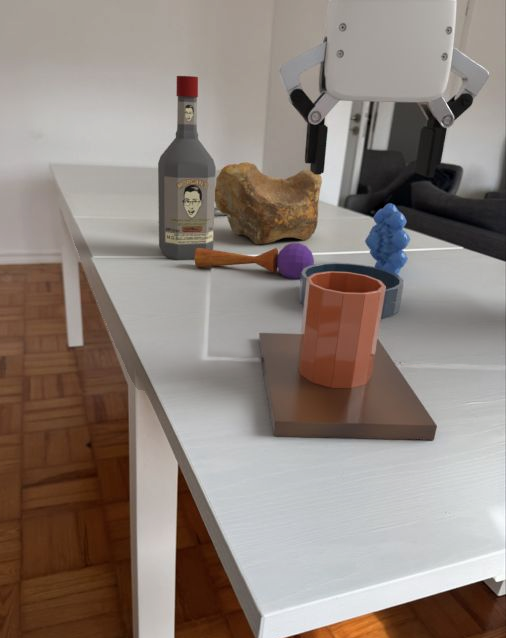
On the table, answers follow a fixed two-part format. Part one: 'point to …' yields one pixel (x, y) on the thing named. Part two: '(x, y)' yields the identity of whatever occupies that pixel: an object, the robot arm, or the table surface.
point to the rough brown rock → (268, 203)
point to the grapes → (388, 239)
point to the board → (339, 399)
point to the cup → (340, 328)
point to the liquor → (186, 183)
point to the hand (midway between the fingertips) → (370, 173)
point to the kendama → (262, 259)
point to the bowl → (386, 277)
